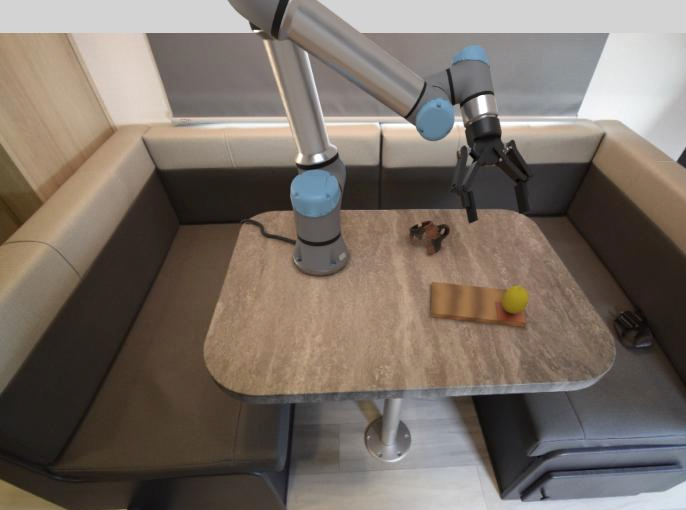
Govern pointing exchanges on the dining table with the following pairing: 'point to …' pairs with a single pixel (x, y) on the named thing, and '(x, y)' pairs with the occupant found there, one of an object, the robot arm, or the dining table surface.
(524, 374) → the dining table surface
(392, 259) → the dining table surface
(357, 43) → the robot arm
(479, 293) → the board
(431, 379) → the dining table surface
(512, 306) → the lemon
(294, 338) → the dining table surface
